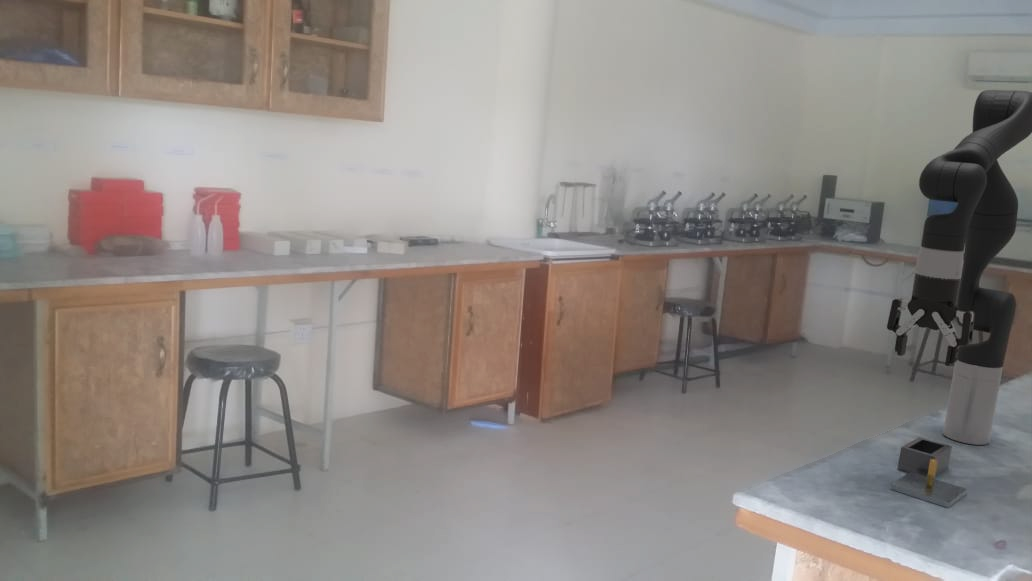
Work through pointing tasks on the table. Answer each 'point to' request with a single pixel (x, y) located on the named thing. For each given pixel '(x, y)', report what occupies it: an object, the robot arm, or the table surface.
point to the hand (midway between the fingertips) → (924, 360)
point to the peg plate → (929, 487)
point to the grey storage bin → (924, 456)
